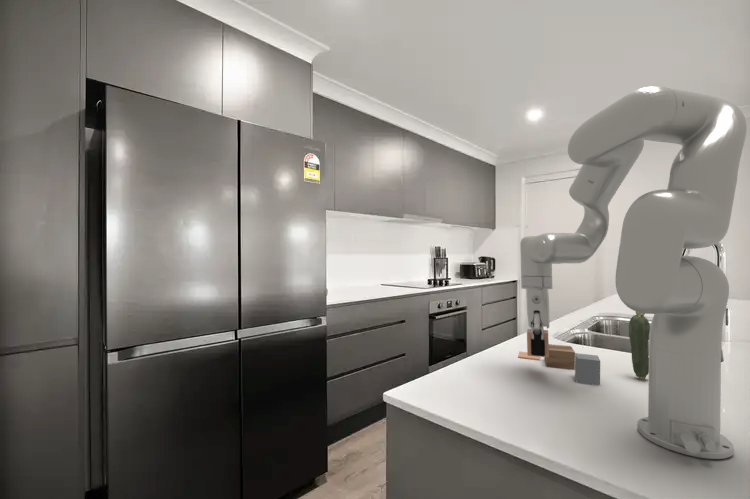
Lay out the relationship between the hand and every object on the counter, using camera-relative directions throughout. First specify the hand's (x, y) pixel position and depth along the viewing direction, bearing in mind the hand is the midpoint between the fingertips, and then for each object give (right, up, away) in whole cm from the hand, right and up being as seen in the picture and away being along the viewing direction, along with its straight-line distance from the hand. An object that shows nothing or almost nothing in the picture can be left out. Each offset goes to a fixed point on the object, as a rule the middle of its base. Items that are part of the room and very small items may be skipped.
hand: (538, 352), depth 96 cm
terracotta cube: (0, -1, 0) cm, 1 cm away
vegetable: (+24, -6, -3) cm, 25 cm away
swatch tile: (+5, -6, +16) cm, 18 cm away
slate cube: (+10, -6, -4) cm, 13 cm away
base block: (+10, -6, +9) cm, 14 cm away
